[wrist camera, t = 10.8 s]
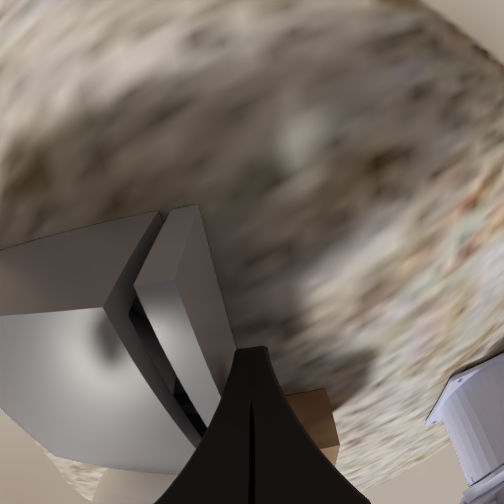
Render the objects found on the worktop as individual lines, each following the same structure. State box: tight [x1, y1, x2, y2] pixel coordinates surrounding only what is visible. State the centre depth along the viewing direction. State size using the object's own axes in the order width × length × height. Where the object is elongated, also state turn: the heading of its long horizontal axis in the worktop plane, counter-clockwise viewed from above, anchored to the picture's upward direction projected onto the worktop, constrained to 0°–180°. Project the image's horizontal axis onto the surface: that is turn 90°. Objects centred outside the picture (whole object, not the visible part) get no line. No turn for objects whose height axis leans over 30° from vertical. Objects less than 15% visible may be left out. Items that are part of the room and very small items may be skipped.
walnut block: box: [285, 389, 340, 467], centre depth 16 cm, size 4×4×4 cm
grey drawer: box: [130, 204, 237, 428], centre depth 11 cm, size 11×11×5 cm
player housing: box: [0, 211, 207, 475], centre depth 11 cm, size 10×11×6 cm
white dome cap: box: [128, 310, 176, 395], centre depth 11 cm, size 6×6×2 cm
